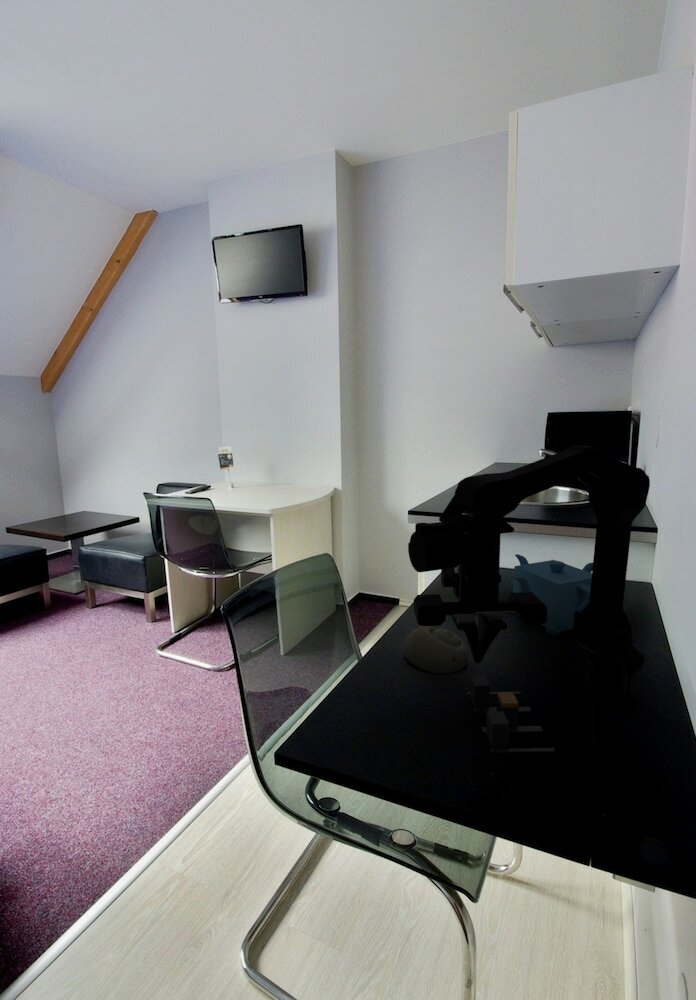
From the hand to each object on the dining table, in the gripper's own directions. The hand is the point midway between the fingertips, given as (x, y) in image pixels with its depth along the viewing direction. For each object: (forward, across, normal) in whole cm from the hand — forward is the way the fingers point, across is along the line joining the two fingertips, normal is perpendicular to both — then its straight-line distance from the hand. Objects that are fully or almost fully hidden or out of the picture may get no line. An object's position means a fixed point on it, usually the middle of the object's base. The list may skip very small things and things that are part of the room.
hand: (476, 661), depth 76 cm
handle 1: (+10, -2, -5) cm, 11 cm away
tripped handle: (+10, -5, 0) cm, 11 cm away
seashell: (+12, +3, -19) cm, 22 cm away
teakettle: (+12, -27, -38) cm, 48 cm away
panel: (+11, -5, 0) cm, 12 cm away
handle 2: (+10, -2, +5) cm, 11 cm away
